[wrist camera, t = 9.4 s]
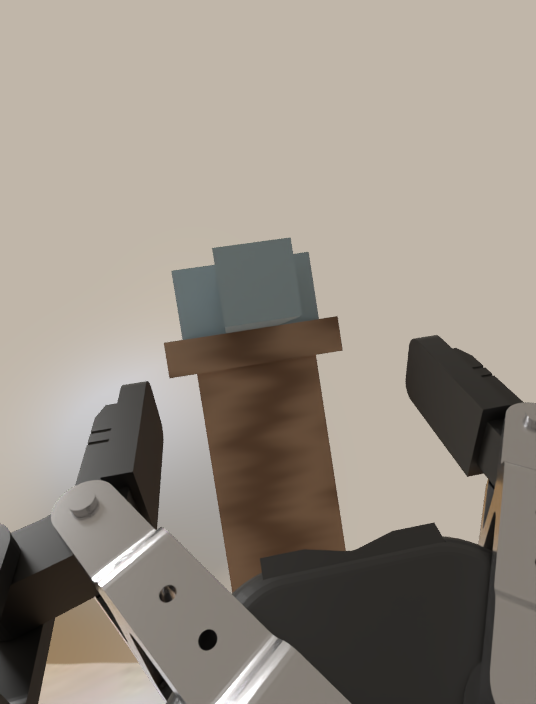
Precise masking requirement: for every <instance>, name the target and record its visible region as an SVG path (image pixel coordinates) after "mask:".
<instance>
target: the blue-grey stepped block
mask: <svg viewBox="0 0 536 704" xmlns="http://www.w3.org/2000/svg"><path fill="white" fill-rule="evenodd" d="M212 250H213V256H214V262H215V265H211V266H203V267H196V268H189V269H182V270H174V271H172V277H173V283H174V289H175V295H176V301H177V307H178V313H179V320H180V326H181V332H182V338H183V340H186V339H193V338H199V337H206V336H212V335H219V334H225V333H232V332H239V331H245V330H252V329H258V328H265V327H271V326H278V325H284V324H291V323H297V322H304V321H310V320H317V319H319V317H318V311H317V305H316V298H315V291H314V285H313V278H312V272H311V265H310V258H309V253H308V252H304V253H298V254H293V251H292V244H291V238H284V239H277V240H269V241H262V242H254V243H247V244H240V245H232V246H225V247H217V248H212Z"/></svg>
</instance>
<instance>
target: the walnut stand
mask: <svg viewBox="0 0 536 704" xmlns="http://www.w3.org/2000/svg"><path fill="white" fill-rule="evenodd" d="M164 346H165V353H166V359H167V365H168V371H169V377H170V378H174V377H180V376H186V375H193V374H197V376H198V382H199V388H200V394H201V401H202V407H203V413H204V419H205V425H206V432H207V438H208V444H209V450H210V456H211V463H212V468H213V475H214V481H215V487H216V493H217V500H218V506H219V512H220V518H221V524H222V530H223V537H224V543H225V549H226V556H227V561H228V568H229V574H230V580H231V586H232V593H233V592H234V591H235V590H236V589H238V588H239V587H240V586H241V585H242V584H244V583H245V582H247V581H248V580H250V579H251V578H253V577H254V576H256V575H258V574H260V573H262V570H261V564H260V558H264V557H269V556H273V555H278V554H283V553H288V552H293V551H298V550H303V549H309V550H333V551H346V550H345V543H344V536H343V530H342V524H341V517H340V510H339V504H338V497H337V491H336V484H335V477H334V471H333V464H332V458H331V452H330V445H329V438H328V432H327V425H326V419H325V412H324V407H323V400H322V392H321V386H320V379H319V373H318V366H317V360H316V355H317V354H323V353H329V352H336V351H342V344H341V337H340V330H339V323H338V317H337V316H336V317H330V318H324V319H317V320H310V321H304V322H297V323H291V324H284V325H278V326H271V327H265V328H258V329H252V330H245V331H239V332H232V333H225V334H219V335H212V336H206V337H199V338H193V339H186V340H180V341H173V342H168V343H164Z"/></svg>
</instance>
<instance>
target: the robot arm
mask: <svg viewBox="0 0 536 704" xmlns="http://www.w3.org/2000/svg"><path fill="white" fill-rule="evenodd" d="M406 389H407V393H408V395H409V397H410V399H411V401H412V402H413V403H414V405H415V406H416V407H417V409H418V410H419V412H420V413H421V414H422V416H423V417H424V418H425V419H426V421H427V422H428V424H429V425H430V427H431V428H432V429H433V431H434V432H435V433H436V435H437V436H438V437H439V439H440V440H441V441H442V443H443V444H444V446H445V447H446V448H447V450H448V451H449V452H450V454H451V455H452V456H453V458H454V459H455V460H456V462H457V463H458V464H459V466H460V467H461V469H462V470H463V471H464V473H465V474H466V475H467V477H468V476H473V475H478V474H483V473H484V474H485V475H486V476H487V478H488V481H487V484H486V489H485V497H484V505H483V513H482V520H481V529H480V536H479V543H478V544H475V543H472V542H469V541H465V540H462V539H458V538H451V537H442V535H441V534H440V532H439V530H438V528H437V527H436V525H435V523H430V524H425V525H420V526H415V527H411V528H405V529H401V530H396V531H392V532H390V533H388V534H386V535H384V536H382V537H380V538H378V539H376V540H374V541H372V542H370V543H368V544H366V545H364V546H362V547H360V548H359V549H356V550H353V551H333V550H309V549H303V550H298V551H293V552H288V553H283V554H278V555H273V556H269V557H264V558H260V564H261V570H262V573H260V574H258V575H256V576H254V577H253V578H251V579H250V580H248V581H247V582H245V583H244V584H242V585H241V586H240V587H239V588H238V589H236V590H235V591H234V592H233V593H232V594H231V593H230V592H229V591H228V590H227V589H226V588H225V587H224V586H223V585H222V584H221V583H220V582H219V581H218V580H217V579H216V578H215V577H214V576H213V575H212V574H211V573H210V572H209V571H208V570H207V569H206V568H205V567H204V566H203V565H202V564H201V563H200V562H199V561H198V560H197V559H196V558H195V557H194V556H193V555H192V554H191V553H190V552H189V551H188V550H187V549H186V548H185V547H184V546H183V545H182V544H181V543H180V542H179V541H178V540H177V539H176V538H175V537H174V536H173V535H172V534H171V533H170V532H169V531H167V530H166V529H164V528H162V527H160V528H159V529H158V530H157V522H158V521H157V520H158V508H159V493H160V480H161V467H162V452H163V430H162V424H161V420H160V417H159V413H158V410H157V406H156V403H155V399H154V396H153V392H152V389H151V386H150V383H149V382H148V381H146V382H140V383H134V384H128V385H122V387H121V390H120V394H119V398H118V403H117V404H111V405H106V406H105V407H104V408H103V409H102V410H101V412H100V413H99V414H98V415H97V416H96V418H95V420H94V423H93V426H92V430H91V434H90V437H89V440H88V445H87V447H86V451H85V454H84V457H83V461H82V464H81V468H80V471H79V474H78V478H77V481H76V485H75V486H74V487H72V488H71V489H69V490H68V491H66V492H65V493H64V494H63V495H62V496H61V497H60V498H59V499H58V500H57V502H56V503H55V505H54V507H53V509H52V512H51V515H49V516H47V517H46V518H43V519H42V520H39V521H37V522H35V523H32V524H30V525H28V526H26V527H23V528H21V529H19V530H16V531H14V532H12V533H10V531H9V530H8V528H7V527H6V526H4V525H2V524H0V704H38V701H39V696H40V691H41V686H42V681H43V676H44V671H45V666H46V661H47V656H48V650H49V646H50V641H51V636H52V631H53V626H54V621H55V617H57V616H59V615H61V614H63V613H65V612H67V611H69V610H70V609H72V608H74V607H76V606H78V605H80V604H82V603H84V602H86V601H87V600H89V599H91V598H93V597H94V598H95V600H96V601H97V602H98V604H99V605H100V607H101V608H102V610H103V611H104V612H105V614H106V615H107V617H108V618H109V620H110V621H111V623H112V624H113V625H114V627H115V628H116V629H117V631H118V633H119V634H120V635H121V637H122V638H123V639H124V641H125V643H126V644H127V645H128V647H129V648H130V650H131V651H132V653H133V654H134V656H135V657H136V659H137V661H138V662H139V664H140V665H141V667H142V669H143V670H144V672H145V673H146V675H147V676H148V678H149V679H150V681H151V683H152V684H153V685H154V687H155V688H156V690H157V691H158V693H159V694H160V696H161V697H162V698H163V700H164V701H165V703H166V704H536V403H524V402H523V401H521V400H520V399H519V398H518V397H517V396H516V395H515V394H514V393H513V392H511V391H510V390H509V389H508V388H507V387H506V386H505V385H504V384H503V383H502V382H501V381H499V380H498V379H497V378H496V377H495V376H492V373H491V372H490V371H488V370H487V369H486V368H483V365H482V364H481V363H480V362H478V361H477V360H476V359H475V358H474V357H473V356H472V355H470V354H468V353H466V352H463V351H461V350H459V349H457V348H454V349H452V348H451V347H450V346H449V345H448V344H447V343H446V342H445V341H444V340H443V339H441V338H440V337H439V336H437V335H434V336H428V337H422V338H416V339H412V340H411V342H410V344H409V352H408V362H407V371H406Z"/></svg>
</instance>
